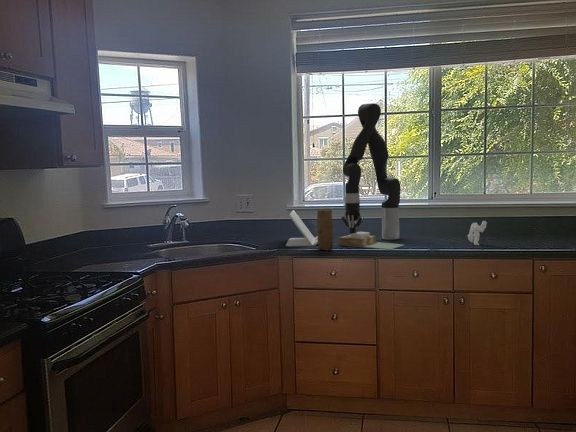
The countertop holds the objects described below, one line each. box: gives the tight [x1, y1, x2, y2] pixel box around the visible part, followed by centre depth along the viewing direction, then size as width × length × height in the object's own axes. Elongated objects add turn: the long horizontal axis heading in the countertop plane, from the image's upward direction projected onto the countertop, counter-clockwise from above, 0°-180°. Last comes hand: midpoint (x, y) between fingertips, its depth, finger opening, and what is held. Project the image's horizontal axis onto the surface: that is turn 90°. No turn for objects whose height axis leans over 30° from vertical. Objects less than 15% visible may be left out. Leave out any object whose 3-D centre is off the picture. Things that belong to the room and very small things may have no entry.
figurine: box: [467, 220, 488, 246], centre depth 260 cm, size 10×5×12 cm, turn 33°
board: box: [337, 234, 377, 248], centre depth 271 cm, size 14×14×4 cm
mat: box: [362, 241, 405, 251], centre depth 263 cm, size 15×16×1 cm
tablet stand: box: [285, 209, 318, 247], centre depth 282 cm, size 18×25×17 cm
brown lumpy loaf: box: [316, 208, 334, 251], centre depth 260 cm, size 11×8×20 cm
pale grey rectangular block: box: [350, 231, 371, 239], centre depth 269 cm, size 9×6×2 cm, turn 141°
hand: (352, 234), depth 272 cm, fingers closed
